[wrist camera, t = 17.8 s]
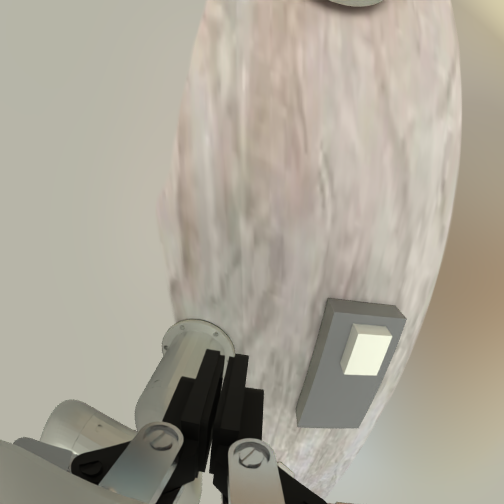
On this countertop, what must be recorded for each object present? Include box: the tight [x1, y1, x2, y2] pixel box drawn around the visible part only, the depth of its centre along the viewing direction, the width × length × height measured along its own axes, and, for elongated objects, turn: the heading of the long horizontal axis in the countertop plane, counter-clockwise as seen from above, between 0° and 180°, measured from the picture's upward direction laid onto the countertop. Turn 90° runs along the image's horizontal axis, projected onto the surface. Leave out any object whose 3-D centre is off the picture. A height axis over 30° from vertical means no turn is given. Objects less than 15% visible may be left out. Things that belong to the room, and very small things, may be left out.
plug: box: [340, 324, 392, 376], centre depth 41 cm, size 7×5×8 cm
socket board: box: [296, 298, 407, 428], centre depth 44 cm, size 24×12×5 cm, turn 172°
